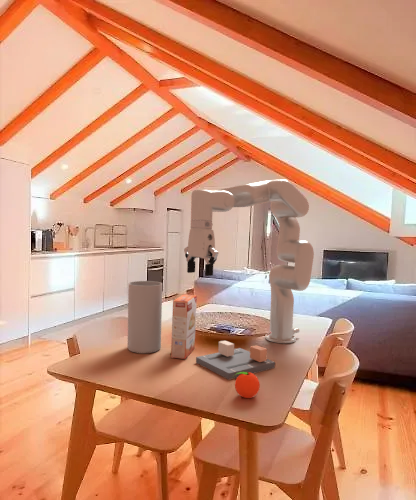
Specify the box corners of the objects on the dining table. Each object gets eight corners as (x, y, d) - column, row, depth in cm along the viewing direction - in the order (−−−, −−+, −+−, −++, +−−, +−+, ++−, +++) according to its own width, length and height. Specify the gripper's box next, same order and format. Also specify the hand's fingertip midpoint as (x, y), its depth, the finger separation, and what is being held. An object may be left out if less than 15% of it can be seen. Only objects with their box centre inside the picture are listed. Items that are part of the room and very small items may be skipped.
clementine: (227, 398, 114) (228, 373, 113) (235, 389, 120) (235, 365, 120) (255, 404, 111) (256, 378, 110) (261, 394, 117) (262, 370, 117)
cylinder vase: (138, 356, 147) (140, 287, 145) (121, 347, 156) (122, 282, 154) (167, 349, 155) (168, 284, 153) (149, 342, 164) (150, 280, 163)
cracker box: (186, 360, 144) (188, 301, 143) (170, 358, 146) (171, 300, 144) (195, 348, 158) (197, 294, 157) (180, 346, 159) (182, 293, 158)
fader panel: (239, 353, 154) (240, 347, 154) (274, 367, 139) (274, 361, 139) (196, 362, 142) (196, 356, 142) (229, 379, 127) (229, 373, 127)
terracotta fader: (256, 356, 143) (256, 345, 143) (266, 360, 139) (266, 348, 139) (249, 357, 141) (250, 346, 141) (260, 362, 137) (260, 350, 137)
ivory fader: (224, 351, 147) (225, 340, 147) (233, 355, 143) (234, 344, 143) (218, 352, 146) (218, 341, 145) (227, 356, 142) (227, 345, 141)
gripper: (226, 226, 140) (224, 276, 141) (193, 225, 153) (192, 270, 154) (209, 226, 135) (208, 277, 136) (177, 224, 148) (176, 271, 149)
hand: (199, 274), depth 145 cm, fingers open, 9 cm apart
